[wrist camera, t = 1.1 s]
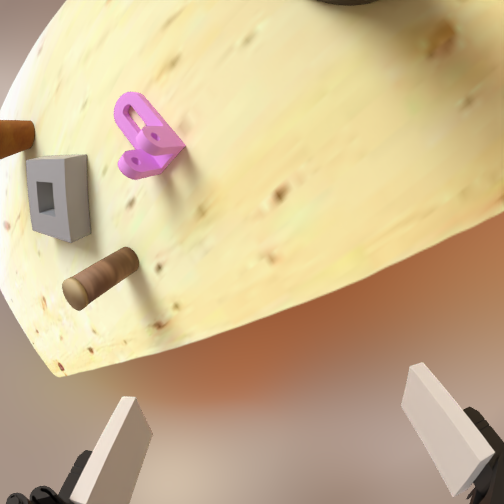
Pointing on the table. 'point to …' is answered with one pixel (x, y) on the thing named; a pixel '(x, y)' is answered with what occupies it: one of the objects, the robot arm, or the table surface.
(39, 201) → the socket block
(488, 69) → the table surface
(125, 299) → the table surface
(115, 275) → the walnut pin
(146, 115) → the bracket
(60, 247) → the table surface
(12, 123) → the disposable coffee cup
